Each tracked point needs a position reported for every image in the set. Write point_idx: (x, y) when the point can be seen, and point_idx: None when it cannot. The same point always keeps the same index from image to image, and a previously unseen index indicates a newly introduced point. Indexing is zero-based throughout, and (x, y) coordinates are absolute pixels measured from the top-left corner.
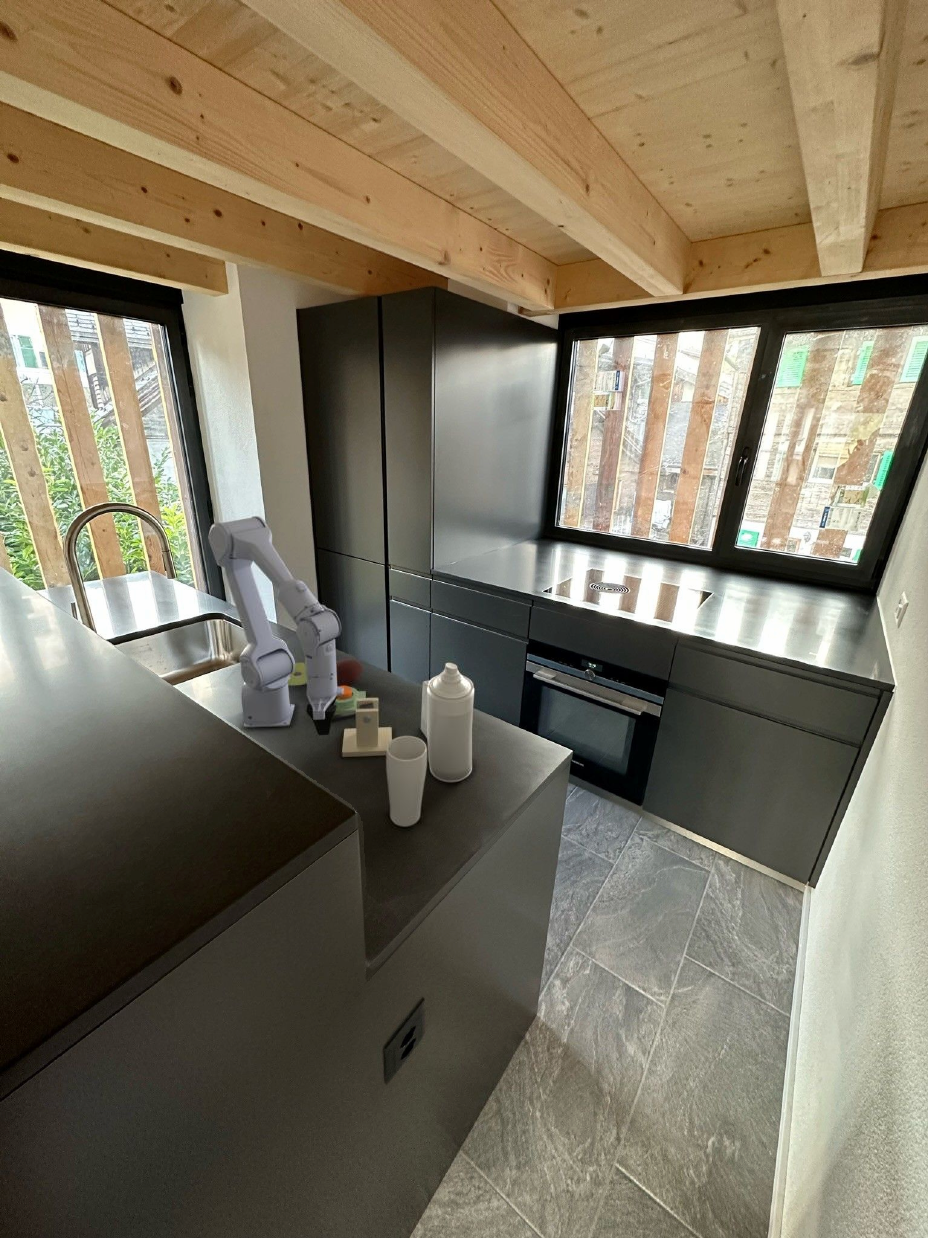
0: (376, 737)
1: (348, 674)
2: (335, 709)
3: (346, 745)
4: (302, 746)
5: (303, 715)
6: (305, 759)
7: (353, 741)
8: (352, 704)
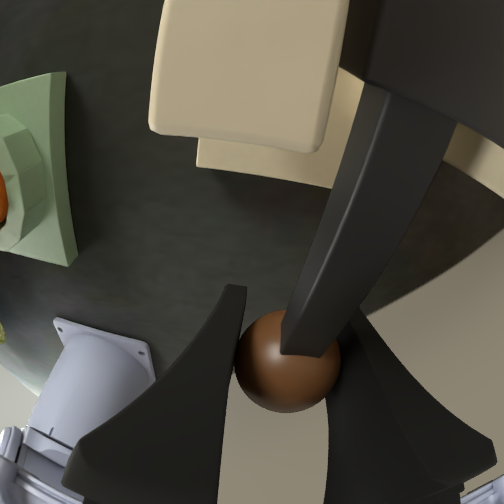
0: None
1: None
2: (492, 465)
3: None
4: None
5: (87, 300)
6: None
7: (331, 133)
8: (22, 137)
